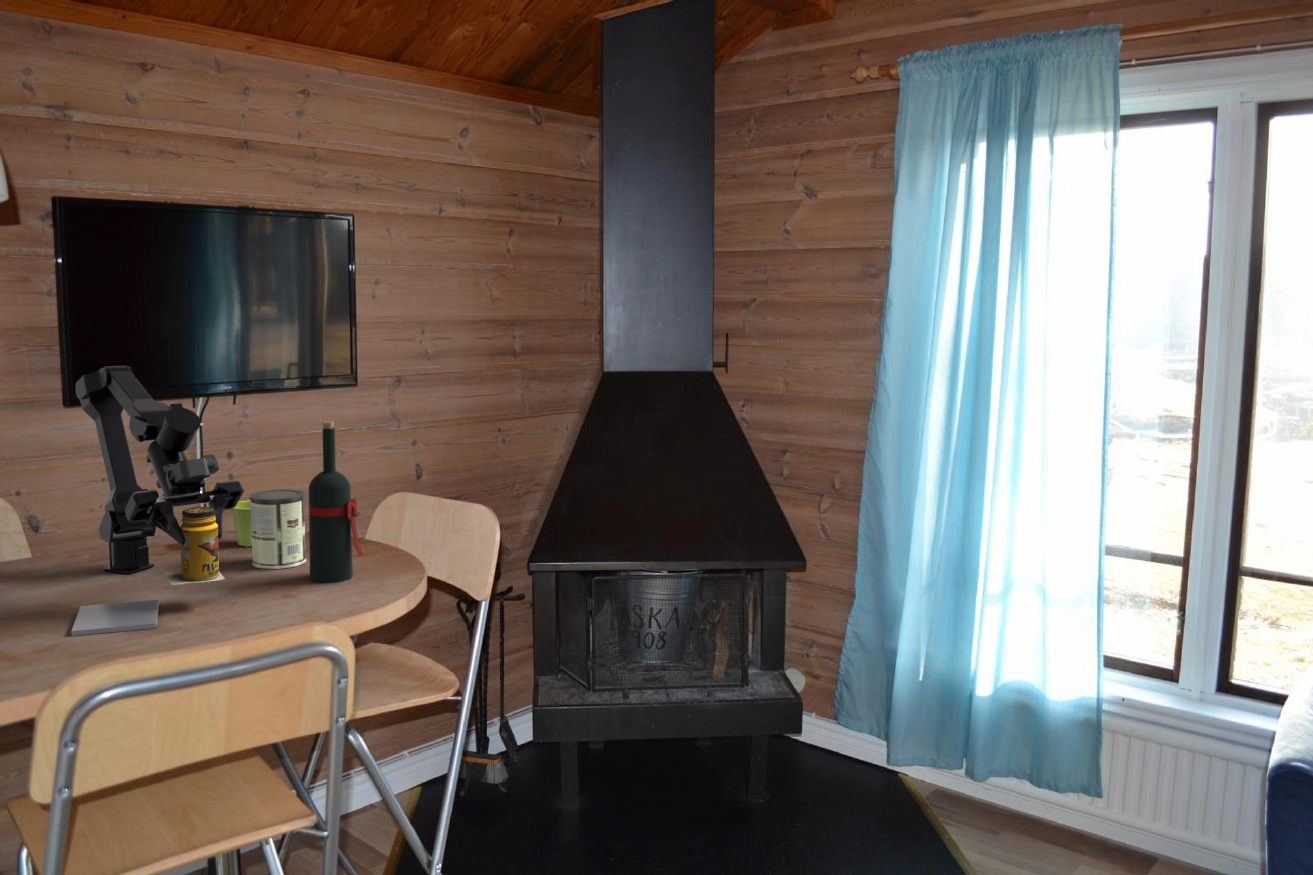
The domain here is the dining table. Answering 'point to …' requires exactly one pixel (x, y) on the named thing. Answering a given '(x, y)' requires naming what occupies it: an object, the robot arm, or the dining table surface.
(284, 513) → the coffee can
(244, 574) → the dining table surface
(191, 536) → the condiment
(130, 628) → the board
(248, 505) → the plant pot
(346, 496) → the wine bottle
